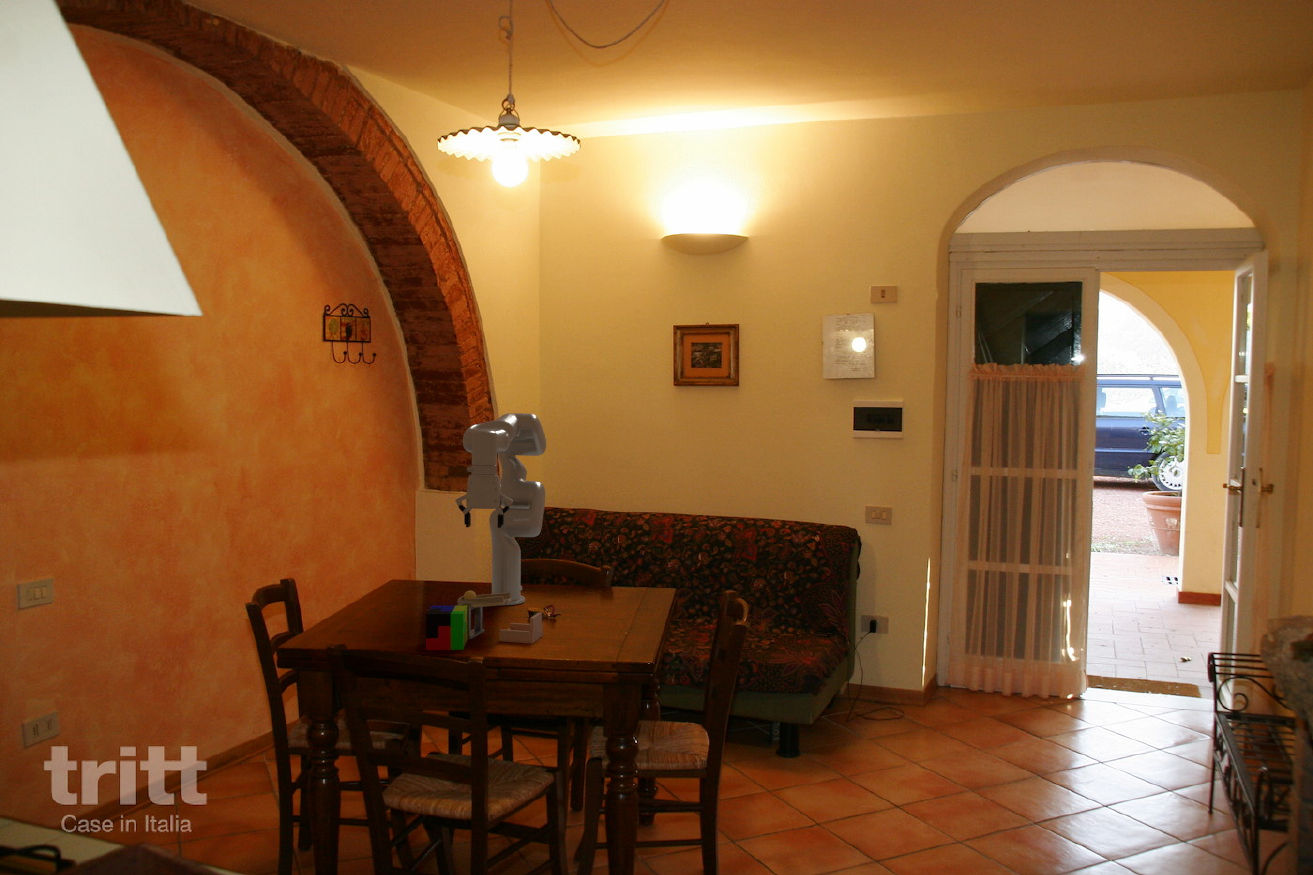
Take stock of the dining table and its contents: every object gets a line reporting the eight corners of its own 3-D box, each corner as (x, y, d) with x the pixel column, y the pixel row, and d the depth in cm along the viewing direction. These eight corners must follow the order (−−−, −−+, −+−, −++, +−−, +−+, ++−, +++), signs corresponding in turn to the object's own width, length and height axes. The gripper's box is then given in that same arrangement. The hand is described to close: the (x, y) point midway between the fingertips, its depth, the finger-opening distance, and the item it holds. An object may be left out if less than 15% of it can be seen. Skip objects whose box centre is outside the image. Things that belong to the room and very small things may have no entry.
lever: (460, 614, 283) (457, 592, 283) (520, 609, 279) (517, 586, 279) (442, 623, 271) (439, 600, 271) (505, 618, 267) (502, 595, 267)
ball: (470, 603, 275) (464, 592, 275) (480, 598, 274) (474, 587, 274) (465, 606, 271) (459, 595, 271) (475, 600, 270) (469, 589, 271)
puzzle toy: (431, 640, 267) (431, 605, 266) (467, 640, 267) (467, 605, 267) (426, 650, 257) (425, 614, 256) (463, 649, 257) (463, 613, 257)
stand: (474, 630, 278) (474, 596, 278) (484, 631, 277) (484, 597, 277) (460, 638, 268) (460, 604, 268) (470, 639, 268) (470, 604, 267)
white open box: (511, 633, 275) (511, 609, 275) (542, 635, 273) (542, 612, 272) (499, 641, 267) (499, 616, 266) (532, 643, 264) (532, 618, 264)
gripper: (453, 471, 281) (452, 528, 282) (510, 472, 281) (509, 529, 281) (459, 469, 289) (458, 525, 289) (515, 470, 288) (514, 526, 289)
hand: (484, 527), depth 285 cm, fingers open, 9 cm apart
